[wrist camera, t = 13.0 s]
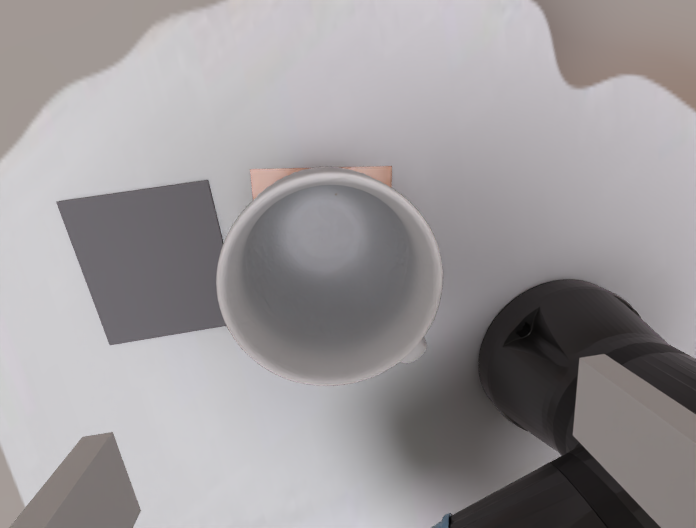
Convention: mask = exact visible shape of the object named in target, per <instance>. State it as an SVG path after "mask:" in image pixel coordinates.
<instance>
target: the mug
mask: <svg viewBox="0 0 696 528" xmlns="http://www.w3.org/2000/svg"><path fill="white" fill-rule="evenodd" d="M216 287H217V297H218V302H219V307H220V310H221V313H222V316H223V319H224V321H225V324H226V326H227V328H228V330H229V331H230V333H231V334H232V336H233V338H234V339H235V340H236V342H237V343H238V345H239V346H240V347H241V348H242V349H243V350H244V351H245V352H246V353H247V354H248V355H249V356H250V357H251V358H252V359H253V360H254V361H256V362H257V363H258V364H259V365H261V366H262V367H264V368H265V369H267V370H269V371H270V372H272V373H274V374H276V375H278V376H280V377H283V378H285V379H288V380H291V381H295V382H298V383H303V384H309V385H317V386H335V385H345V384H351V383H356V382H359V381H363V380H366V379H369V378H372V377H374V376H377V375H379V374H381V373H383V372H385V371H387V370H388V369H390V368H391V367H393V366H395V365H396V364H398V363H399V362H402V363H405V364H408V363H412V362H414V361H415V360H417V359H418V358H420V357H421V356H422V355H423V354H424V353H425V351H426V349H427V344H426V340H425V338H424V336H425V335H426V333H427V332H428V330H429V328H430V326H431V324H432V322H433V321H434V318H435V316H436V313H437V310H438V307H439V303H440V299H441V294H442V287H443V267H442V261H441V256H440V251H439V247H438V245H437V242H436V239H435V237H434V235H433V232H432V230H431V228H430V227H429V225H428V223H427V222H426V220H425V219H424V218H423V216H422V215H421V214H420V212H419V211H418V210H417V209H416V208H415V207H414V206H413V205H412V204H411V203H410V202H409V201H408V200H407V199H406V198H405V197H404V196H402V195H401V194H400V193H398V192H397V191H395V190H394V189H392V188H391V187H389V186H388V185H386V184H384V183H382V182H381V181H379V180H376V179H374V178H372V177H370V176H368V175H366V174H364V173H360V172H357V171H354V170H349V169H344V168H339V167H328V166H326V167H317V168H313V167H312V168H310V169H304V170H300V171H298V172H294V173H292V174H291V175H288V176H285V177H283V178H282V179H280V180H277V181H276V182H275V183H273V184H272V185H271V186H269V187H267V188H266V189H265V190H264V191H263V192H262V193H260V194H258V196H257V197H256V198H255V199H254V200H253V201H252V202H251V203H250V204H249V205H248V206H247V207H246V208H245V209H244V210H243V211H242V213H241V214H240V215H239V217H238V218H237V219H236V221H235V222H234V224H233V225H232V227H231V229H230V231H229V232H228V234H227V237H226V239H225V241H224V244H223V246H222V249H221V253H220V257H219V261H218V267H217V276H216Z"/></svg>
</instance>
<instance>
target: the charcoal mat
mask: <svg viewBox="0 0 696 528" xmlns="http://www.w3.org/2000/svg"><path fill="white" fill-rule="evenodd" d="M57 205H58V208H59V211H60V213H61V216H62V219H63V221H64V224H65V227H66V229H67V232H68V235H69V237H70V240H71V243H72V245H73V248H74V251H75V253H76V256H77V259H78V261H79V264H80V267H81V269H82V272H83V275H84V277H85V280H86V283H87V285H88V288H89V291H90V293H91V296H92V299H93V302H94V304H95V307H96V310H97V312H98V315H99V318H100V320H101V323H102V326H103V328H104V331H105V334H106V336H107V339H108V342H109V344H110V345H114V344H120V343H126V342H132V341H138V340H144V339H150V338H156V337H162V336H168V335H174V334H180V333H186V332H191V331H197V330H203V329H209V328H215V327H221V326H226V324H225V321H224V319H223V316H222V313H221V310H220V307H219V302H218V297H217V287H216V276H217V267H218V261H219V257H220V253H221V249H222V246H223V239H222V235H221V231H220V227H219V223H218V219H217V215H216V211H215V207H214V203H213V199H212V194H211V190H210V186H209V182H208V180H205V181H198V182H191V183H184V184H177V185H170V186H163V187H156V188H149V189H142V190H135V191H128V192H121V193H114V194H107V195H100V196H93V197H86V198H79V199H72V200H66V201H59V202H57Z"/></svg>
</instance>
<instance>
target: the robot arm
mask: <svg viewBox="0 0 696 528" xmlns="http://www.w3.org/2000/svg"><path fill="white" fill-rule="evenodd" d="M479 376H480V380H481V383H482V386H483V388H484V390H485V392H486V394H487V395H488V397H489V398H490V399H491V401H492V402H493V403H494V405H495V406H496V407H497V409H498V410H499V411H500V412H501V413H502V414H503V415H504V416H505V417H506V418H507V419H508V420H509V421H510V422H512V423H513V424H515V425H516V426H518V427H520V428H522V429H524V430H526V431H529V432H530V433H531V434H533V435H534V436H536V437H537V438H539V439H540V440H542V441H543V442H545V443H546V444H547V445H549V446H550V447H552V448H553V449H555V450H556V451H558V452H559V453H560V454H561V455H562V456H561V457H559V458H557V459H555V460H554V461H552V462H549V463H547V464H546V465H544V466H542V467H540V468H538V469H537V470H535V471H533V472H531V473H529V474H528V475H526V476H524V477H522V478H520V479H518V480H517V481H515V482H513V483H511V484H509V485H507V486H505V487H504V488H502V489H500V490H498V491H496V492H494V493H493V494H491V495H489V496H487V497H485V498H483V499H481V500H480V501H478V502H476V503H474V504H472V505H470V506H469V507H467V508H465V509H463V510H461V511H459V512H457V513H456V514H454V515H452V514H451V513H449V514H446V515H445V516H444V517H443V519H442V521H441V522H440V523H438V524H436V525H435V526H433V527H432V528H696V359H695V358H693V357H691V356H689V355H687V354H685V353H684V352H682V351H680V350H678V349H676V348H674V347H672V346H670V345H669V344H668V343H667V342H666V341H665V340H664V339H663V338H661V337H660V336H659V335H658V334H657V333H656V332H655V331H654V330H653V329H652V328H651V327H650V326H648V325H647V324H646V323H645V322H644V321H643V320H642V319H641V317H640V316H639V314H638V313H637V312H636V311H635V310H634V309H633V307H632V306H631V305H630V304H629V303H628V302H626V301H625V300H624V299H622V298H621V297H619V296H618V295H616V294H614V293H612V292H610V291H608V290H606V289H604V288H601V287H599V286H597V285H595V284H592V283H589V282H585V281H580V280H558V281H553V282H549V283H545V284H542V285H539V286H537V287H534V288H532V289H530V290H528V291H527V292H525V293H523V294H522V295H520V296H518V297H517V298H516V299H514V300H513V301H512V302H511V303H509V304H508V305H507V306H506V307H505V308H504V309H503V310H502V311H501V312H500V313H499V315H498V316H497V317H496V318H495V320H494V321H493V323H492V324H491V326H490V327H489V329H488V331H487V333H486V335H485V337H484V340H483V343H482V346H481V349H480V354H479ZM140 511H141V510H140V507H139V504H138V501H137V499H136V496H135V493H134V490H133V488H132V485H131V482H130V479H129V476H128V474H127V471H126V468H125V465H124V462H123V460H122V457H121V454H120V451H119V449H118V446H117V443H116V440H115V437H114V435H113V432H111V433H104V434H98V435H92V436H85V437H82V438H81V440H80V441H79V442H78V443H77V445H76V446H75V447H74V448H73V449H72V451H71V452H70V453H69V454H68V456H67V457H66V458H65V459H64V461H63V462H62V463H61V464H60V466H59V467H58V468H57V469H56V470H55V472H54V473H53V474H52V475H51V477H50V478H49V479H48V480H47V482H46V483H45V484H44V485H43V487H42V488H41V489H40V490H39V492H38V493H37V494H36V495H35V496H34V498H33V499H32V500H31V501H30V503H29V504H28V505H27V506H26V508H25V509H24V510H23V511H22V513H21V514H20V515H19V516H18V517H17V519H16V520H15V521H14V523H13V524H12V525H11V526H10V527H9V528H133V526H134V524H135V522H136V520H137V518H138V515H139V513H140Z"/></svg>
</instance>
